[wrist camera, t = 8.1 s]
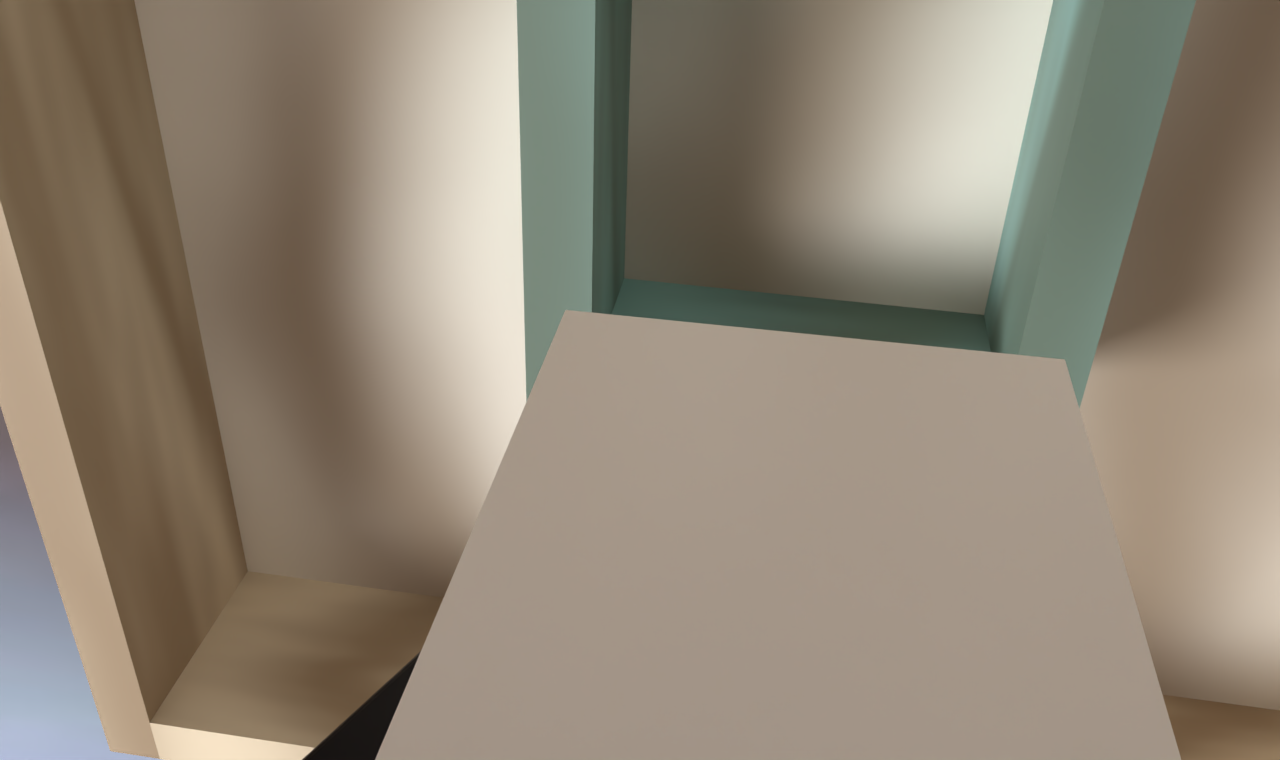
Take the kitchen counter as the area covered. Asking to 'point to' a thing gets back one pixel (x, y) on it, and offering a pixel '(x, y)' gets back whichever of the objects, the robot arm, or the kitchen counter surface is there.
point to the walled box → (598, 293)
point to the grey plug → (787, 563)
